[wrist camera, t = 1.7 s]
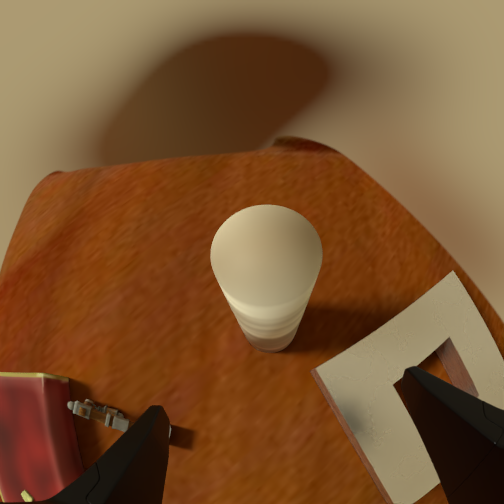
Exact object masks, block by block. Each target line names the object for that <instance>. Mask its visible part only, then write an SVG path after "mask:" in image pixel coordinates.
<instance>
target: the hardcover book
mask: <svg viewBox="0 0 504 504" xmlns="http://www.w3.org/2000/svg"><path fill="white" fill-rule="evenodd" d="M70 401H71V397H70V388H69V378H68V377H64V376H59V375H53V374H48V373H8V372H0V494H1V497H2V500H3V502H31V501H42V500H46V499H49V498H51V497H53V496H54V495H56V494H57V493H59V492H60V491H61V490H63V489H64V488H65V487H67V486H68V485H69V484H71V483H72V482H73V481H75V480H76V479H77V478H78V477H80V476H81V475H82V474H83V473H84V472H85V471H84V467H83V463H82V459H81V455H80V450H79V446H78V441H77V436H76V430H75V425H74V419H73V412H72V410H70V409H69V408H68V402H70Z"/></svg>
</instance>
